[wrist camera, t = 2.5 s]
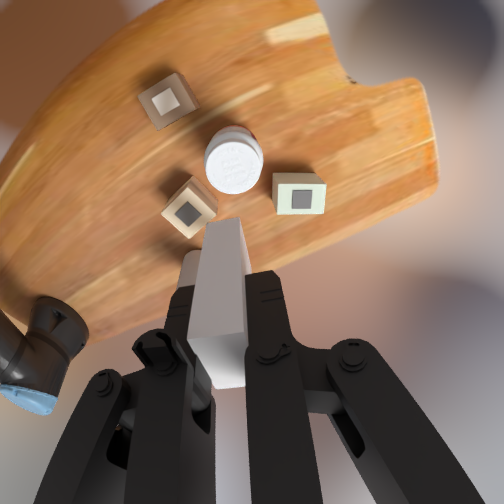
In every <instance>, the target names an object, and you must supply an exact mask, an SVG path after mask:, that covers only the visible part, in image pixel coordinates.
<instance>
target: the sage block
mask: <svg viewBox="0 0 504 504" xmlns="http://www.w3.org/2000/svg"><path fill="white" fill-rule="evenodd" d="M326 185H327V184H326V183H325V182H324V181H323V180H322V179H321V178H320V177H319V176H318V175H317V174H316V173H273V181H272V201H273V204H274V207H275V210H276V213H277V215H280V214H323V213H324V204H325V194H326Z"/></svg>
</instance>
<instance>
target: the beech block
mask: <svg viewBox="0 0 504 504" xmlns="http://www.w3.org/2000/svg"><path fill="white" fill-rule="evenodd" d="M217 209H218V199H217V198H216V197H215V196H214V195H213V194H212V193H211V192H210V191H209V190H208V189H207V188H206V187H205V186H203V185H202V184H201V183H200V182H199V181H198V180H197V179H196V178H195V177H194V176H192V177H191V178H190V179H189V180H188V181H187V182H186V183H185V184H184V185H183V186H182V187H181V188H180V189H179V190H178V191H177V192H175V193H174V194H173V195H172V196H171V197H170V198H169V200H168V201H167V203H166V205H165V207H164V209H163V210H162V212H161V215H163V216H164V217H165V218H166V219H167V220H168V221H169V222H170V223H171V224H173V225H174V226H175V227H176V228H177V229H178V230H179V231H180V232H182V233H183V234H184V235H185V236H186V237H187V238H188V239H190V238H191V237H192V236H193V235H194V234H196V233H197V232H198V231H199V230H200V229H201V228H202V227H203V226H205V225H206V224H207V223H208V222H209V221H210V220H212V219H213V218H214V217H215V216H216V215H217Z"/></svg>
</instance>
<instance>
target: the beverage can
mask: <svg viewBox="0 0 504 504" xmlns="http://www.w3.org/2000/svg"><path fill="white" fill-rule="evenodd" d="M200 255H201V250H193V251H190V252H189V253H187V254H186V255H185V257H184V259H183V263H182V267H181V271H180V275H179V280H178V284H177V288H176V290H177V289H178V288H179V287H183V286H190V285H195V284H196V278H197V272H198V266H199V261H200Z"/></svg>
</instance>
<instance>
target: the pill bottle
mask: <svg viewBox="0 0 504 504" xmlns="http://www.w3.org/2000/svg"><path fill="white" fill-rule="evenodd" d="M204 167H205V170H206V175H207V178H208V180H209V182H210V183H211V184H212V185H213V186H214V187H215V188H216V189H217V190H219V191H221V192H224V193H227V194H239V193H242V192H245V191H247V190H249V189H250V188H252V187H253V186H254V185H255V183H256V182H257V180H258V179H259V176H260V173H261V170H262V167H263V153H262V149H261V147H260V145H259V144H258V142H257V140H256V138H255V136H254V135H253V134H252V133H251V132H250V131H249V130H248V129H246V128H244V127H242V126H238V125H231V126H226V127H224V128H222V129H220V130H219V131H218V132H217V133H216V134H215V135H214V136H213V137H212V139H211V141H210V143H209V145H208V146H207V148H206V151H205V155H204Z"/></svg>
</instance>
